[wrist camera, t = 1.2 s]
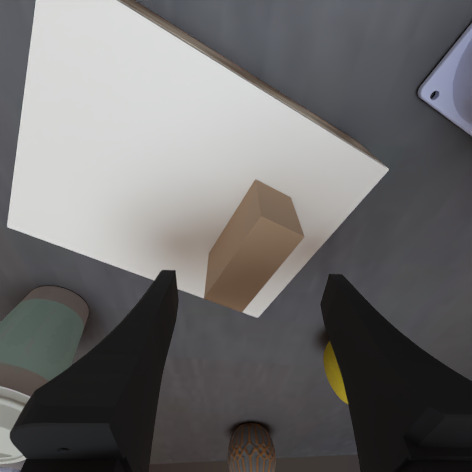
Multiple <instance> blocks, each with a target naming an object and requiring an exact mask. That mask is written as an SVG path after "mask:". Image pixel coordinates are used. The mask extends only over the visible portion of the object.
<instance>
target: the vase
mask: <svg viewBox="0 0 472 472" xmlns="http://www.w3.org/2000/svg"><path fill="white" fill-rule="evenodd" d="M275 462H276V458H275V449H274V445H273V441H272V439H271V437H270V435H269V433H268V432H267V430H266V429H265V428H264V427H262V426H261V425H259V424H256V423H246V424H242V425H240V426H239V427H238V428H237V429H236V430H235V431H234V433H233V434H232V436H231V439H230V442H229V447H228V465H229V470H230V472H274V471H275Z"/></svg>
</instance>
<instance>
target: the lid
mask: <svg viewBox="0 0 472 472" xmlns="http://www.w3.org/2000/svg"><path fill="white" fill-rule="evenodd" d="M388 170H389V169H388V168H387V167H386V166H385V165H384V164H382V163H381V162H379V161H377V160H376V159H374V158H373V157H371V156H369V155H368V154H366V153H365V152H363V151H361V150H360V149H358V148H356V147H355V146H353V145H352V144H350V143H348V142H347V141H345V140H344V139H342V138H340V137H339V136H337V135H336V134H334V133H332V132H331V131H329V130H328V129H326V128H324V127H323V126H321V125H320V124H318V123H316V122H315V121H313V120H312V119H310V118H308V117H307V116H305V115H303V114H302V113H300V112H299V111H297V110H295V109H294V108H292V107H291V106H289V105H287V104H286V103H284V102H283V101H281V100H279V99H278V98H276V97H275V96H273V95H271V94H270V93H268V92H267V91H265V90H263V89H262V88H260V87H259V86H257V85H255V84H254V83H252V82H251V81H249V80H247V79H246V78H244V77H242V76H241V75H239V74H238V73H236V72H234V71H233V70H231V69H230V68H228V67H226V66H225V65H223V64H222V63H220V62H218V61H217V60H215V59H214V58H212V57H210V56H209V55H207V54H206V53H204V52H202V51H201V50H199V49H198V48H196V47H194V46H193V45H191V44H190V43H188V42H186V41H185V40H183V39H181V38H180V37H178V36H177V35H175V34H173V33H172V32H170V31H169V30H167V29H165V28H164V27H162V26H161V25H159V24H157V23H156V22H154V21H153V20H151V19H149V18H148V17H146V16H145V15H143V14H141V13H140V12H138V11H137V10H135V9H133V8H132V7H130V6H128V5H127V4H125V3H124V2H122V1H120V0H36V5H35V13H34V20H33V28H32V36H31V44H30V51H29V59H28V67H27V75H26V83H25V90H24V98H23V106H22V114H21V121H20V129H19V137H18V145H17V153H16V160H15V168H14V176H13V184H12V191H11V199H10V207H9V215H8V223H7V227H8V228H11V229H14V230H17V231H19V232H22V233H25V234H28V235H31V236H33V237H36V238H39V239H42V240H44V241H47V242H50V243H53V244H55V245H58V246H61V247H64V248H66V249H69V250H72V251H75V252H77V253H80V254H83V255H86V256H88V257H91V258H94V259H97V260H99V261H102V262H105V263H108V264H110V265H113V266H116V267H119V268H121V269H124V270H127V271H130V272H133V273H135V274H138V275H141V276H144V277H146V278H149V279H152V280H155V279H156V277H157V276H158V274H159V273H160V271H162V270H176V280H177V289H179V290H182V291H185V292H188V293H190V294H193V295H196V296H199V297H201V298H204V299H206V300H209V301H212V302H215V303H217V304H220V305H223V306H226V307H229V308H231V309H234V310H237V311H240V312H243V313H246V314H248V315H251V316H254V317H257V318H258V317H259V316H260V315H261V314H262V313H263V311H264V310H265V309H266V308H267V307H268V306H269V305H270V304H271V302H272V301H273V300H274V299H275V298H276V297H277V296H278V295H279V293H280V292H281V291H282V290H283V289H284V288H285V287H286V285H287V284H288V283H289V282H290V281H291V280H292V279H293V278H294V276H295V275H296V274H297V273H298V272H299V271H300V270H301V269H302V267H303V266H304V265H305V264H306V263H307V262H308V261H309V260H310V258H311V257H312V256H313V255H314V254H315V253H316V252H317V251H318V249H319V248H320V247H321V246H322V245H323V244H324V243H325V242H326V240H327V239H328V238H329V237H330V236H331V235H332V234H333V232H334V231H335V230H336V229H337V228H338V227H339V226H340V225H341V223H342V222H343V221H344V220H345V219H346V218H347V217H348V216H349V214H350V213H351V212H352V211H353V210H354V209H355V208H356V207H357V205H358V204H359V203H360V202H361V201H362V200H363V199H364V198H365V196H366V195H367V194H368V193H369V192H370V191H371V190H372V188H373V187H374V186H375V185H376V184H377V183H378V182H379V181H380V179H381V178H382V177H383V176H384V175H385V174H386V173H387V172H388Z"/></svg>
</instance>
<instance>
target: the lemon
mask: <svg viewBox="0 0 472 472" xmlns="http://www.w3.org/2000/svg"><path fill="white" fill-rule="evenodd" d="M323 360H324V367H325V372H326V375H327V378H328V381H329V383H330V385H331V386H332V388H333V390H334V391H335V393H336V394H337V395H338V397H339V398H340V399H341V400H343V401H344V402H345V403H347V404H348V401H347V396H346V392H345V388H344V383H343V379H342V376H341V372H340V369H339V366H338V363H337V360H336V357H335V354H334V351H333V348H332V346H331V343H330V341H329V342H328V344H327V346H326V348H325V351H324V359H323Z"/></svg>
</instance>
